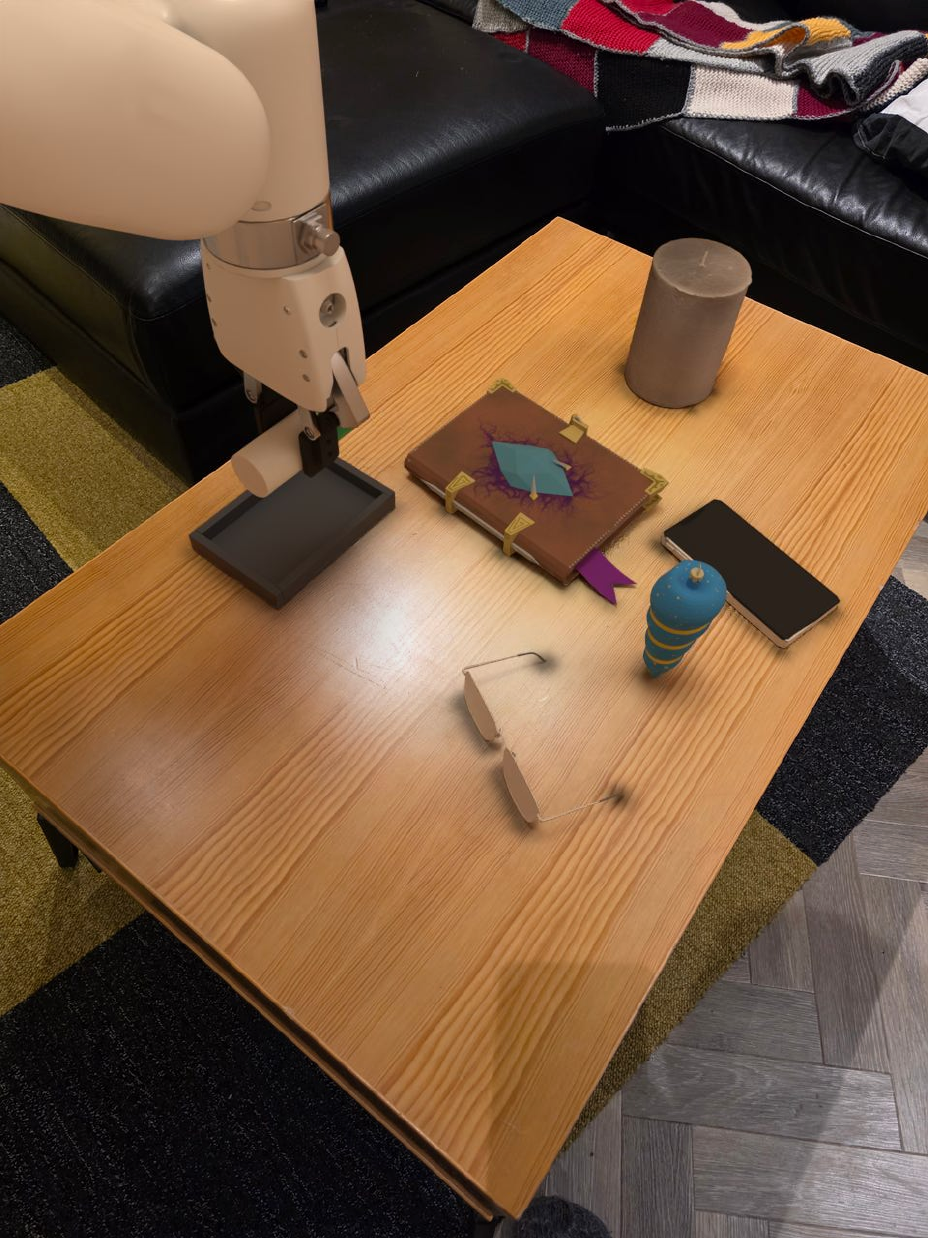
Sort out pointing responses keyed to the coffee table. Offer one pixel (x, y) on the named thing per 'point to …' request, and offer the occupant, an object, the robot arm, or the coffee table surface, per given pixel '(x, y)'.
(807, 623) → the smartphone
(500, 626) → the coffee table surface
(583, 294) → the coffee table surface
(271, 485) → the marker
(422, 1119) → the coffee table surface
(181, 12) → the robot arm
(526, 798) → the eyeglasses
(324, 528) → the tray
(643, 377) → the pillar candle
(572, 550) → the book
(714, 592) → the ornament
